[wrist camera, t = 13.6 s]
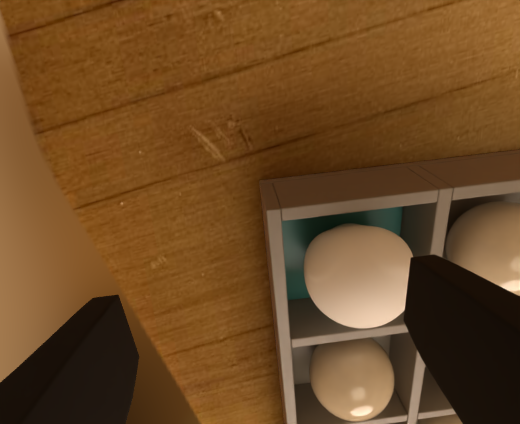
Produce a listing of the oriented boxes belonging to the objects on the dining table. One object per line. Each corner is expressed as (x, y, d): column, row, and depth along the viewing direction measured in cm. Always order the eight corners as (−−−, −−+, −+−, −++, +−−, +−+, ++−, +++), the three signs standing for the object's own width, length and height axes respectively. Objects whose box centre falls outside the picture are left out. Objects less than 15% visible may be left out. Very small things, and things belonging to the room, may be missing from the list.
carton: (286, 449, 27) (294, 503, 24) (258, 180, 17) (265, 210, 14) (475, 422, 27) (508, 471, 24) (551, 145, 18) (621, 167, 14)
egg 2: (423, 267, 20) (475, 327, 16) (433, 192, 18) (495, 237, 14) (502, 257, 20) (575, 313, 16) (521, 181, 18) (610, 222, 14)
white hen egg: (406, 222, 18) (465, 281, 14) (356, 292, 20) (394, 365, 15) (324, 185, 17) (359, 237, 12) (278, 264, 18) (294, 334, 14)
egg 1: (303, 373, 22) (320, 446, 18) (300, 318, 20) (318, 387, 16) (373, 363, 23) (406, 434, 18) (377, 308, 21) (414, 374, 16)
